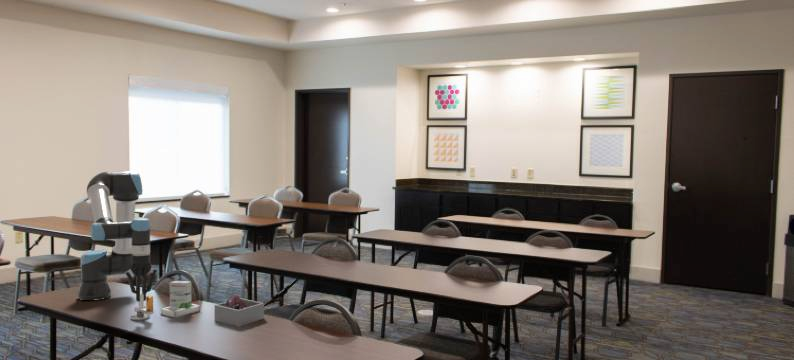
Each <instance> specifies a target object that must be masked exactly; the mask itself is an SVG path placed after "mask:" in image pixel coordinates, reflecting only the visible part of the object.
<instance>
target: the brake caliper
mask: <svg viewBox="0 0 794 360" xmlns="http://www.w3.org/2000/svg"><path fill="white" fill-rule="evenodd" d="M240 298H241V297H240V296H238V295H237V294H235V295H234V296H233V297H232V299H231V300H230V299H229V298H225V300H223V303H224V304H225V305H226V307H228V308H232V309H237V310H240V309H244V308H246V304H245V303H244V302H243V301H242V300H241V299H240ZM238 300H239V301H238ZM229 301H231V302H229ZM233 301H234V303H233ZM238 304H241V305H242V306H241V307H240V308H239V305H238Z"/></svg>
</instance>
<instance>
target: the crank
mask: <svg viewBox="0 0 794 360" xmlns="http://www.w3.org/2000/svg"><path fill="white" fill-rule="evenodd" d="M145 304H146V306H144V309H139V306H135V307H134V308H133V309H134V312H136V313H137V312H142V313H145V314H147V315H150V316H151V315H154V313H155V312H154V311H155V310H154V295H146V301H145Z"/></svg>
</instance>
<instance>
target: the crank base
mask: <svg viewBox="0 0 794 360" xmlns="http://www.w3.org/2000/svg"><path fill="white" fill-rule="evenodd" d="M148 319H151V314H150V315H147V314H145V313H142V312H136V313H135V314H132V315H130V320H131V321H145V320H148Z"/></svg>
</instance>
